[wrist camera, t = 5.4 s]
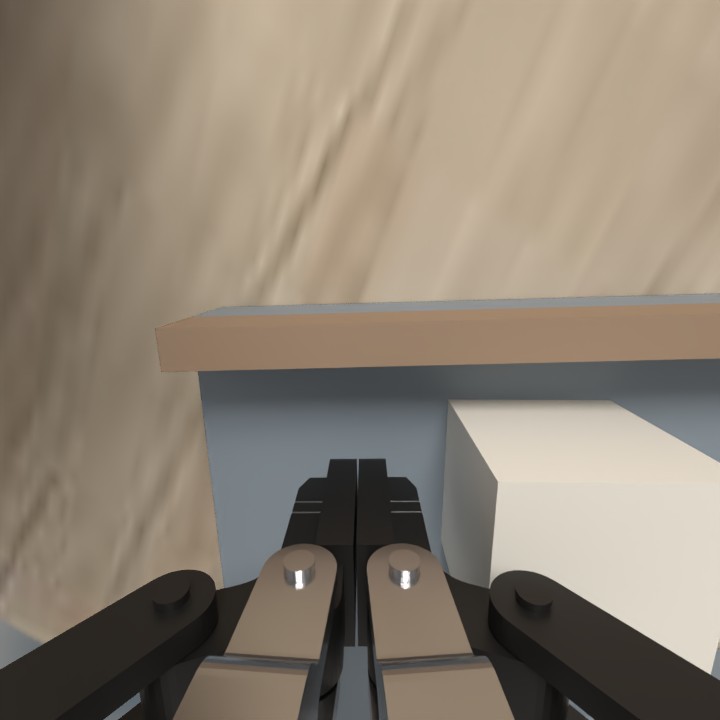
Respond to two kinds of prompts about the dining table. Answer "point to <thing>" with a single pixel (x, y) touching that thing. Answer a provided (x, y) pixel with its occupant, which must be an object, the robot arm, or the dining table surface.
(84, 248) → the dining table surface
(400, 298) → the dining table surface
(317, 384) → the trap deck
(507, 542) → the ivory block
